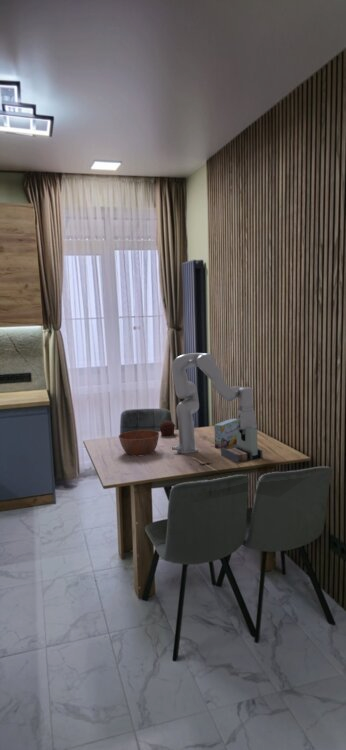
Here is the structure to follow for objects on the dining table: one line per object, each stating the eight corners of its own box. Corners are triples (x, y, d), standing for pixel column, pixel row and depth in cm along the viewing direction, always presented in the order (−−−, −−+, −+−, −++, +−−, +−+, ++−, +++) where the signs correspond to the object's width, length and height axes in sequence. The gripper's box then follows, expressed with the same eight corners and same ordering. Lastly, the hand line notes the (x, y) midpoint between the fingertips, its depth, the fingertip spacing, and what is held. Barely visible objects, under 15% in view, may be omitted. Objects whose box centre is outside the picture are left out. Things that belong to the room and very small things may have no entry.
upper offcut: (238, 458, 285) (237, 455, 285) (225, 452, 298) (225, 449, 298) (247, 456, 288) (247, 453, 288) (234, 450, 301) (234, 447, 300)
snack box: (222, 449, 316) (221, 425, 314) (214, 448, 319) (213, 424, 318) (239, 441, 333) (238, 418, 331) (232, 440, 336) (231, 417, 334)
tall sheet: (251, 455, 288) (251, 429, 286) (237, 449, 303) (236, 424, 301) (257, 454, 290) (257, 429, 288) (242, 448, 304) (242, 423, 302)
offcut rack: (236, 464, 283) (236, 455, 283) (221, 456, 300) (220, 447, 299) (262, 459, 290) (262, 450, 289) (245, 452, 306) (245, 443, 305)
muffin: (173, 437, 353) (172, 422, 351) (157, 437, 355) (157, 422, 354) (177, 433, 364) (176, 419, 363) (162, 432, 367) (161, 419, 365)
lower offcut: (238, 461, 286) (238, 458, 285) (225, 455, 298) (225, 452, 298) (247, 459, 288) (247, 456, 288) (234, 453, 301) (234, 450, 301)
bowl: (152, 445, 334) (151, 428, 333) (165, 454, 311) (164, 436, 309) (115, 450, 325) (114, 433, 324) (126, 460, 302) (125, 441, 301)
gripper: (237, 411, 286) (237, 443, 289) (262, 408, 293) (262, 439, 295) (230, 409, 293) (230, 440, 296) (255, 406, 300) (255, 436, 302)
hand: (246, 439), depth 295 cm, fingers closed on tall sheet, 4 cm apart
